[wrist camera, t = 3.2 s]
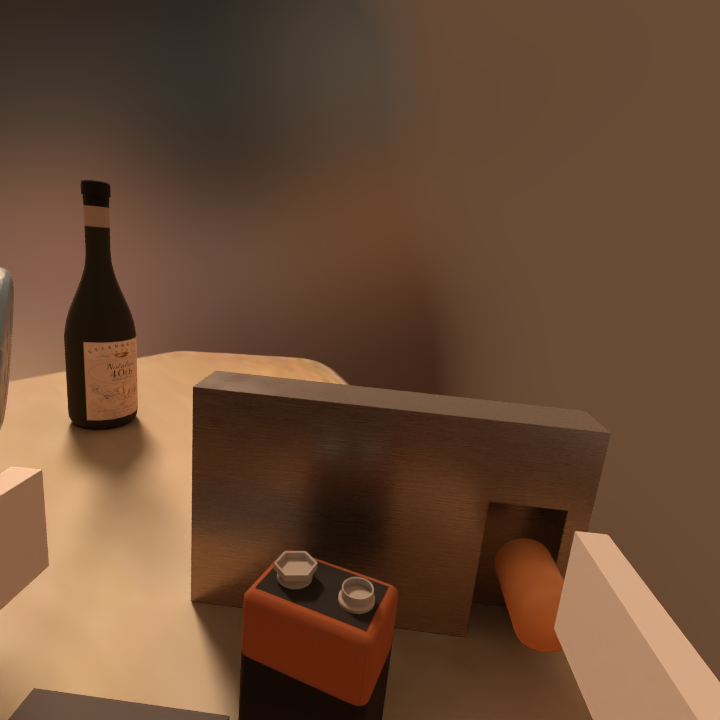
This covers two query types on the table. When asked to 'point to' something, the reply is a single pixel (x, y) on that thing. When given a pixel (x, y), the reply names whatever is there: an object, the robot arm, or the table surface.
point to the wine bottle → (100, 329)
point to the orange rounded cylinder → (530, 592)
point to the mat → (97, 709)
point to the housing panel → (383, 488)
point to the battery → (315, 642)
